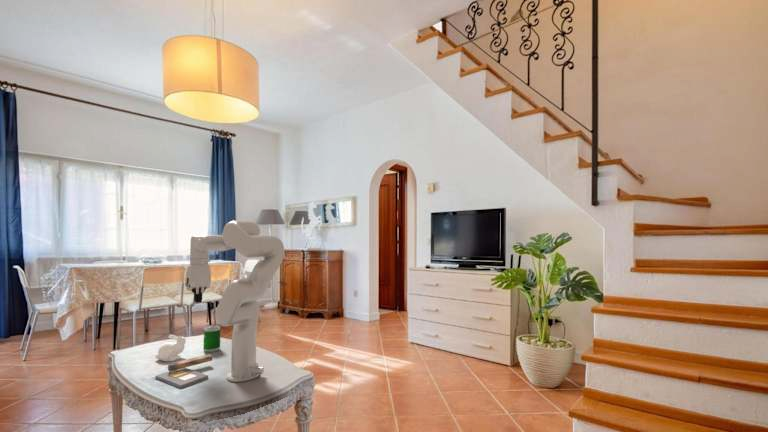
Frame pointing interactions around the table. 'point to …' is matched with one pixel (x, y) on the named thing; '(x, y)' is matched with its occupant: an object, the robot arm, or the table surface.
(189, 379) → the label board
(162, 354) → the rabbit
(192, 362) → the swing bar
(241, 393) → the table surface
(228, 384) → the table surface
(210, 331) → the soda can
